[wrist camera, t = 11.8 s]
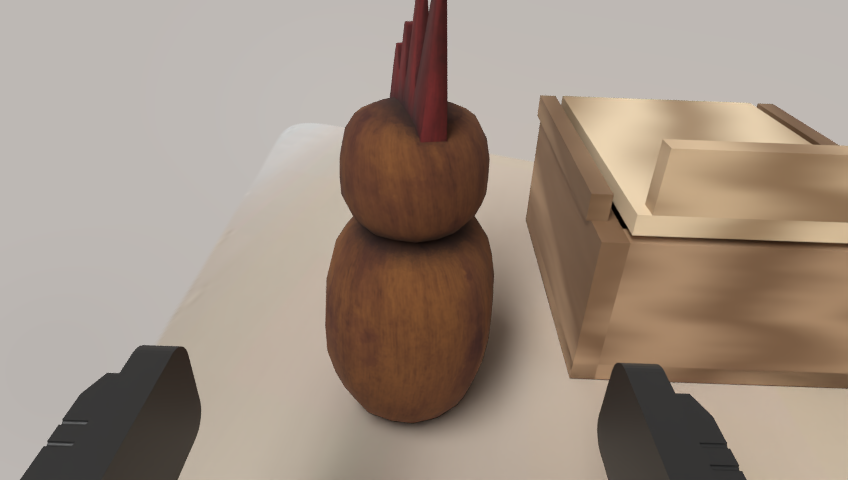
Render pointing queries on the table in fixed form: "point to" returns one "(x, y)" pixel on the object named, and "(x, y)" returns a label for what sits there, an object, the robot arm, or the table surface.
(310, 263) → the table surface
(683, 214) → the lid
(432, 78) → the wooden figurine
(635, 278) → the light wooden box
